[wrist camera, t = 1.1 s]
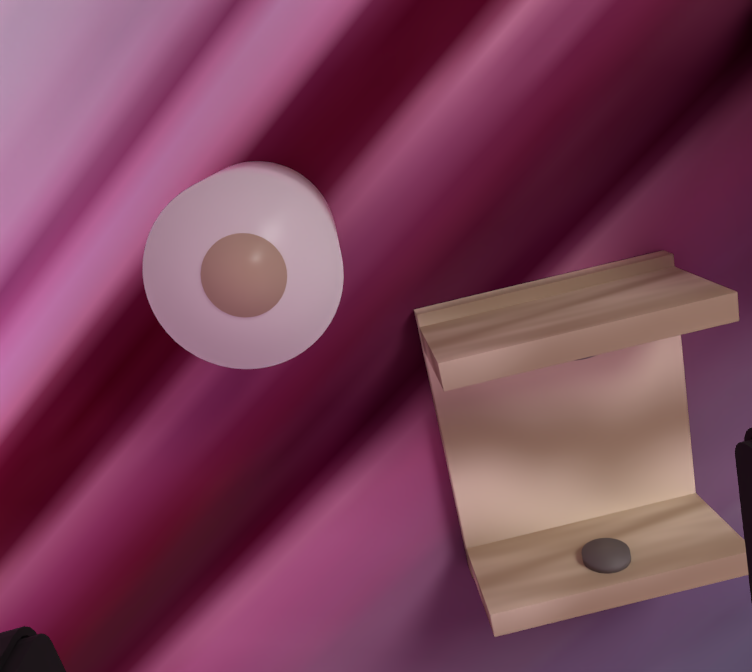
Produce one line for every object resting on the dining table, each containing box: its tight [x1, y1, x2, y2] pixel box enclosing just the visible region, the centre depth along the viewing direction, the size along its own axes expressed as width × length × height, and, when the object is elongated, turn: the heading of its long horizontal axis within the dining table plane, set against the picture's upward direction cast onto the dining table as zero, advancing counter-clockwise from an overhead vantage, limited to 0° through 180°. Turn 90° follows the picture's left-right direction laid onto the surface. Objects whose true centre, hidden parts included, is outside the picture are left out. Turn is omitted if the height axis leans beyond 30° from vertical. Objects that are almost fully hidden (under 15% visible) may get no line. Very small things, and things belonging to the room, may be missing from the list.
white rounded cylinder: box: [143, 161, 344, 369], centre depth 23 cm, size 6×6×7 cm
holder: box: [414, 250, 749, 637], centre depth 27 cm, size 12×10×5 cm
